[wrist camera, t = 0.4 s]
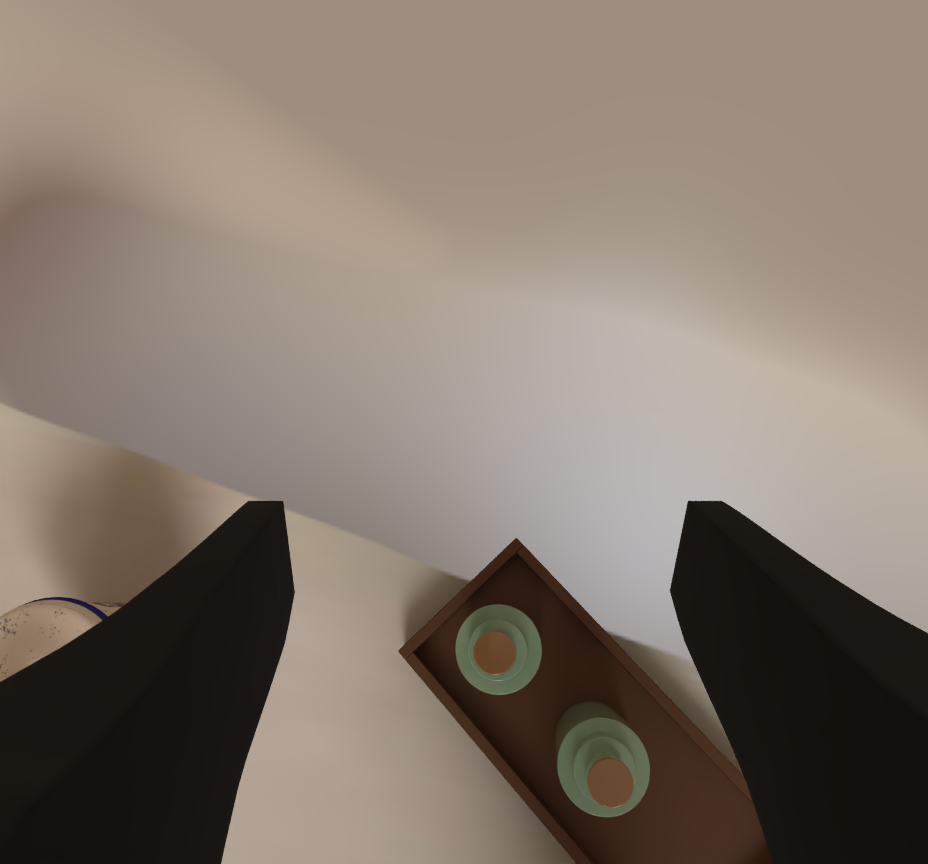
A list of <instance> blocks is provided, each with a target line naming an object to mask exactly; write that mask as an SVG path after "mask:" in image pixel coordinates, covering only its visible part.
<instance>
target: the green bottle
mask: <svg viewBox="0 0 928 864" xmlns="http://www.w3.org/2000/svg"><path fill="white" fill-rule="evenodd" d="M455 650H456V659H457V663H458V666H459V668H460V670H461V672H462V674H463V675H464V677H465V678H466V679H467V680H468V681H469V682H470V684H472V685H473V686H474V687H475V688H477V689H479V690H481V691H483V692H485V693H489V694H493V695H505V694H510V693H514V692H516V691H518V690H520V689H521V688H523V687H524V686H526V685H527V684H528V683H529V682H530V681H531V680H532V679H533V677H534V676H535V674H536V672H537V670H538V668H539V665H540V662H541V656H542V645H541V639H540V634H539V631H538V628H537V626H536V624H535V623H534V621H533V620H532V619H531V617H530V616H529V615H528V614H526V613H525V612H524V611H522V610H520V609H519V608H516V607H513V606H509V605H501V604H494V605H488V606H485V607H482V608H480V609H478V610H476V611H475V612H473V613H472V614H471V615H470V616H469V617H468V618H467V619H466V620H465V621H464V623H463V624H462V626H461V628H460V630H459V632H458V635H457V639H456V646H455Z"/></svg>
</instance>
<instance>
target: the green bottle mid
mask: <svg viewBox="0 0 928 864" xmlns="http://www.w3.org/2000/svg"><path fill="white" fill-rule="evenodd" d="M554 748H555V756H556V763H557V770H558V776H559V779H560V783H561V785H562V787H563V789H564V791H565V793H566V795H567V796H568V797H569V799H570V800H571V801H572V802H573V803H574V804H575V805H576V806H577V807H579V808H580V809H582V810H583V811H585V812H587V813H589V814H591V815H594V816H598V817H616V816H619V815H622V814H624V813H627V812H628V811H630V810H631V809H633V808H634V807H635V806H636V805H637V804H638V803H639V802H640V801H641V799H642V798H643V796H644V794H645V792H646V790H647V787H648V784H649V778H650V764H649V759H648V755H647V752H646V749H645V747H644V745H643V743H642V742H641V740H640V739H639V737H638V736H637V735H636V734H635V732H634V731H633V730H632V729H631V727H630V726H629V725H628V724H627V723H626V721H625V720H624V719H623V718H622V716H621V715H620V714H619V713H618V712H617V711H616V710H614V709H613V708H612V707H610V706H608V705H606V704H604V703H600V702H596V701H585V702H581V703H577V704H575V705H573V706H572V707H570V708H569V709H568V710H566V711H565V712H564V713H563V715H562V716H561V717H560V719H559V721H558V723H557V725H556V728H555V733H554Z"/></svg>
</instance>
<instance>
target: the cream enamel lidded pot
mask: <svg viewBox="0 0 928 864" xmlns="http://www.w3.org/2000/svg"><path fill="white" fill-rule="evenodd" d="M125 604H126V603H86V602H83V601H80V600H77V599H72V598H64V597H51V598H43V599H39V600H35V601H32V602H29V603H26V604H24V605H21V606H19V607H17V608H15V609H13V610H11V611H9V612H7V613H6V614H4V615H3V616H1V617H0V682H1V681H3V680H4V679H6V678H8V677H10V676H11V675H13V674H15V673H17V672H18V671H20V670H22V669H24V668H25V667H27V666H29V665H31V664H32V663H34V662H36V661H38V660H40V659H41V658H43V657H45V656H47V655H48V654H50V653H52V652H54V651H55V650H57V649H59V648H61V647H62V646H64V645H65V644H67V643H69V642H70V641H72V640H73V639H75V638H76V637H78V636H80V635H81V634H83V633H84V632H86V631H87V630H89V629H90V628H92V627H93V626H95V625H96V624H98V623H99V622H101V621H102V620H104V619H105V618H107V617H108V616H110V615H111V614H112V613H114V612H115V611H117V610H118V609H120V608H121V607H122V606H124V605H125Z"/></svg>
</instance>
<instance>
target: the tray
mask: <svg viewBox="0 0 928 864" xmlns="http://www.w3.org/2000/svg"><path fill="white" fill-rule="evenodd" d="M494 604H501V605H509V606H513V607H516V608H519V609H520V610H522V611H524V612H525V613H526V614H528V615H529V616H530V617H531V619H532V620H533V621H534V623H535V624H536V626H537V628H538V631H539V634H540V639H541V645H542V656H541V662H540V665H539V668H538V670H537V672H536V674H535V676H534V677H533V679H532V680H531V681H530V682H529V683H528V684H527V685H526V686H524V687H523V688H521V689H520V690H518V691H516V692H514V693H510V694H505V695H493V694H489V693H485V692H483V691H481V690H479V689H477V688H475V687H474V686H473V685H472V684H470V682H469V681H468V680H467V679H466V678H465V677H464V675H463V674H462V672H461V670H460V668H459V666H458V663H457V659H456V650H455V646H456V639H457V635H458V632H459V630H460V628H461V626H462V624H463V623H464V621H465V620H466V619H467V618H468V617H469V616H470V615H471V614H472V613H473V612H475V611H476V610H478V609H480V608H482V607H485V606H488V605H494ZM399 653H400V654H401V655H402V656H403V658H404V659H405V660H406V661H407V662H408V664H409V665H410V666H411V667H412V668H413V670H414V671H415V672H416V673H417V674H418V675H419V677H420V678H421V679H422V680H423V681H424V683H425V684H426V685H427V686H428V687H429V689H430V690H431V691H432V692H433V693H434V694H435V696H436V697H437V698H438V699H439V700H440V702H441V703H442V704H443V705H444V706H445V708H446V709H447V710H448V711H449V712H450V713H451V715H452V716H453V717H454V718H455V719H456V721H457V722H458V723H459V724H460V725H461V727H462V728H463V729H464V730H465V731H466V733H467V734H468V735H469V736H470V737H471V738H472V740H473V741H474V742H475V743H476V744H477V746H478V747H479V748H480V749H481V750H482V752H483V753H484V754H485V755H486V756H487V757H488V759H489V760H490V761H491V762H492V763H493V765H494V766H495V767H496V768H497V769H498V771H499V772H500V773H501V774H502V775H503V777H504V778H505V779H506V780H507V781H508V782H509V784H510V785H511V786H512V787H513V788H514V790H515V791H516V792H517V793H518V794H519V796H520V797H521V798H522V799H523V800H524V801H525V803H526V804H527V805H528V806H529V807H530V809H531V810H532V811H533V812H534V813H535V815H536V816H537V817H538V818H539V819H540V820H541V822H542V823H543V824H544V825H545V826H546V828H547V829H548V830H549V831H550V832H551V834H552V835H553V836H554V837H555V838H556V840H557V841H558V842H559V843H560V844H561V845H562V847H563V848H564V849H565V850H566V851H567V853H568V854H569V855H570V856H571V857H572V859H573V860H574V861H575V862H576V863H577V864H773V863H772V860H771V856H770V853H769V850H768V847H767V843H766V840H765V837H764V834H763V831H762V828H761V825H760V822H759V819H758V816H757V813H756V810H755V807H754V804H753V801H752V798H751V795H750V792H749V789H748V786H747V783H746V780H745V778H744V777H743V776H742V774H741V773H740V772H739V771H738V770H737V769H736V768H735V767H734V766H733V765H732V764H731V763H730V762H729V761H728V760H727V759H726V758H725V757H724V756H723V755H722V753H721V752H720V751H719V750H718V749H717V748H716V747H715V746H714V745H713V744H712V743H711V742H710V741H709V740H708V739H707V738H706V737H705V736H704V735H703V733H702V732H701V731H700V730H699V729H698V728H697V727H696V726H695V725H694V724H693V723H692V722H691V721H690V720H689V719H688V718H687V717H686V716H685V715H684V713H683V712H682V711H681V710H680V709H679V708H678V707H677V706H676V705H675V704H674V703H673V702H672V701H671V700H670V699H669V698H668V697H667V696H666V695H665V693H664V692H663V691H662V690H661V689H660V688H659V687H658V686H657V685H656V684H655V683H654V682H653V681H652V680H651V679H650V678H649V677H648V676H647V675H646V673H645V672H644V671H643V670H642V669H641V668H640V667H639V666H638V665H637V664H636V663H635V662H634V661H633V660H632V659H631V658H630V657H629V656H628V655H627V653H626V652H625V651H624V650H623V649H622V648H621V647H620V646H619V645H618V644H617V643H616V642H615V641H614V640H613V639H612V638H611V637H610V636H609V635H608V633H607V632H606V631H605V630H604V629H603V628H602V627H601V626H600V625H599V624H598V623H597V622H596V621H595V620H594V619H593V618H592V617H591V616H590V615H589V614H588V613H587V611H586V610H585V609H584V608H583V607H582V606H581V605H580V604H579V603H578V602H577V601H576V600H575V599H574V598H573V597H572V596H571V595H570V594H569V593H568V591H567V590H566V589H565V588H564V587H563V586H562V585H561V584H560V583H559V582H558V581H557V580H556V579H555V578H554V577H553V576H552V575H551V574H550V572H549V571H548V570H547V569H546V568H545V567H544V566H543V565H542V564H541V563H540V562H539V561H538V560H537V559H536V558H535V557H534V556H533V555H532V554H531V552H530V551H529V550H528V549H527V548H526V547H525V546H523V544H522V543H521V542H520V541H519V540H518V539H517V538H516V539H515V540H513V541H512V543H510V544H509V545H508V546H507V547H506V548H505V549H504V550H503V551H502V552H501V553H500V554H499V555H498V556H497V557H496V558H495V559H494V560H493V561H492V562H490V563H489V564H488V565H487V566H486V568H484V569H483V570H482V571H481V572H480V573H479V574H478V575H477V576H476V577H475V578H474V579H473V580H472V581H471V582H470V583H469V584H467V585H466V586H465V587H464V588H463V589H462V590H461V591H460V592H459V593H458V594H457V595H456V596H455V597H454V598H453V599H452V600H451V601H450V602H449V603H448V604H447V605H446V606H445V607H443V608H442V609H441V610H440V611H439V612H438V613H437V614H436V615H435V616H434V617H433V618H432V619H431V620H430V621H429V622H428V623H427V624H426V625H425V626H424V627H423V628H422V629H421V630H419V631H418V632H417V633H416V634H415V635H414V636H413V637H412V638H411V639H410V640H409V641H408V642H407V643H406V644H405V645H404V646H403V647H402V648H401V649H400V650H399ZM585 701H596V702H600V703H604V704H606V705H608V706H610V707H612V708H613V709H614V710H616V711H617V712H618V713H619V714H620V715H621V716H622V718H623V719H624V720H625V721H626V723H627V724H628V725H629V726H630V727H631V729H632V730H633V731H634V732H635V734H636V735H637V736H638V737H639V739H640V740H641V742H642V743H643V745H644V747H645V749H646V752H647V755H648V759H649V764H650V778H649V784H648V787H647V790H646V792H645V794H644V796H643V798H642V799H641V801H640V802H639V803H638V804H637V805H636V806H635V807H634V808H633V809H631V810H630V811H628V812H627V813H624V814H622V815H619V816H616V817H598V816H594V815H591V814H589V813H587V812H585V811H583V810H582V809H580V808H579V807H577V806H576V805H575V804H574V803H573V802H572V801H571V800H570V799H569V797H568V796H567V795H566V793H565V791H564V789H563V787H562V785H561V783H560V779H559V776H558V770H557V763H556V756H555V748H554V733H555V728H556V725H557V723H558V721H559V719H560V717H561V716H562V715H563V713H564V712H565V711H566V710H568V709H569V708H570V707H572V706H573V705H575V704H577V703H581V702H585Z"/></svg>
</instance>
